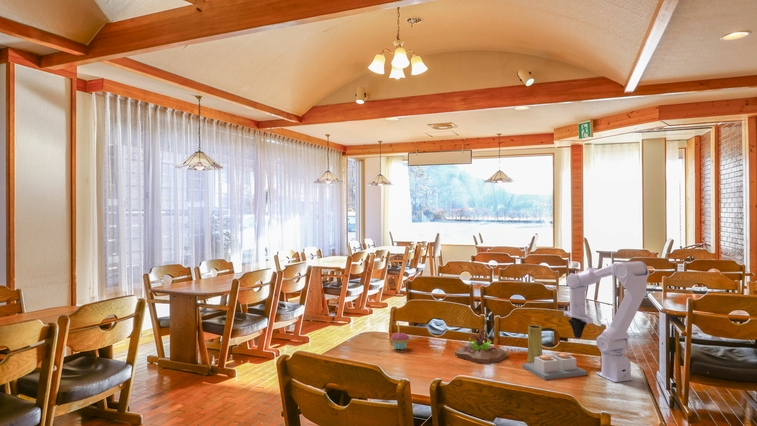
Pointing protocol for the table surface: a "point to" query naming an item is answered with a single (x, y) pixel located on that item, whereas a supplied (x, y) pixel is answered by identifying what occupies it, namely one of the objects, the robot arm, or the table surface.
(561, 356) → the knob
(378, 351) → the table surface
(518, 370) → the table surface
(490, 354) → the plant
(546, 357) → the knob
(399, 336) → the cupcake
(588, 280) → the robot arm
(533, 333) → the vase
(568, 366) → the panel
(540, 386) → the table surface
